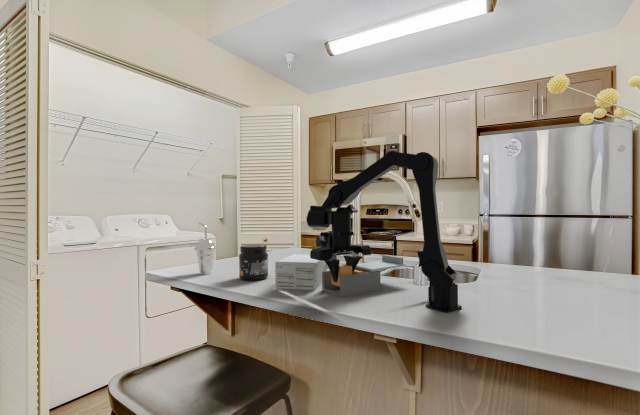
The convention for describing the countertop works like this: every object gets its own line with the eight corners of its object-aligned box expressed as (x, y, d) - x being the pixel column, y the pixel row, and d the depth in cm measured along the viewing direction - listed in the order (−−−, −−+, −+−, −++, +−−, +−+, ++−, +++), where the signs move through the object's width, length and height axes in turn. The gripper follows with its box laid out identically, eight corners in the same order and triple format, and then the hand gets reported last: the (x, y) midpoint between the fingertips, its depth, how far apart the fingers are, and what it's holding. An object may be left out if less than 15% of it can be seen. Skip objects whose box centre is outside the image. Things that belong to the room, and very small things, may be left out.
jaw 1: (352, 284, 98) (352, 266, 98) (340, 286, 96) (340, 267, 96) (343, 281, 102) (343, 263, 102) (331, 284, 100) (331, 265, 100)
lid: (405, 266, 107) (405, 257, 107) (371, 271, 99) (371, 262, 99) (383, 261, 115) (383, 254, 115) (350, 266, 107) (350, 258, 107)
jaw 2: (370, 288, 102) (370, 270, 102) (359, 291, 100) (359, 272, 100) (361, 286, 106) (361, 268, 106) (350, 288, 104) (350, 270, 104)
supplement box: (315, 293, 102) (315, 262, 102) (274, 291, 105) (274, 261, 105) (327, 281, 118) (327, 254, 118) (291, 279, 121) (291, 253, 121)
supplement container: (239, 276, 127) (239, 244, 127) (268, 274, 129) (267, 243, 129) (238, 282, 117) (237, 247, 117) (268, 280, 119) (268, 246, 119)
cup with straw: (194, 276, 127) (193, 223, 127) (194, 272, 136) (194, 222, 136) (217, 274, 130) (216, 223, 130) (216, 270, 139) (216, 222, 139)
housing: (380, 292, 101) (380, 271, 101) (342, 300, 93) (342, 277, 93) (359, 286, 109) (358, 266, 109) (322, 292, 101) (322, 271, 101)
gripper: (349, 225, 111) (349, 272, 111) (300, 228, 100) (300, 280, 101) (372, 227, 101) (372, 278, 102) (320, 230, 91) (321, 287, 91)
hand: (341, 281), depth 99 cm, fingers closed on jaw 1, 4 cm apart
